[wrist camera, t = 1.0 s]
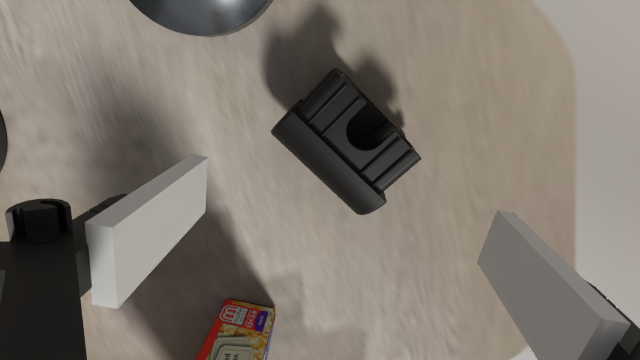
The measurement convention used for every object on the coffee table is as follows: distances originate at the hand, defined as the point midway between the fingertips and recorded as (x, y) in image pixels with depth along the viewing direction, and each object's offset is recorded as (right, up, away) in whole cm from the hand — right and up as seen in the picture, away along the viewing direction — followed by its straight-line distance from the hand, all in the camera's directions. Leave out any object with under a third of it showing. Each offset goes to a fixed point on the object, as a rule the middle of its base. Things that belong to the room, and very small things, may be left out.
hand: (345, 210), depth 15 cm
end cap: (+1, +6, +16) cm, 17 cm away
